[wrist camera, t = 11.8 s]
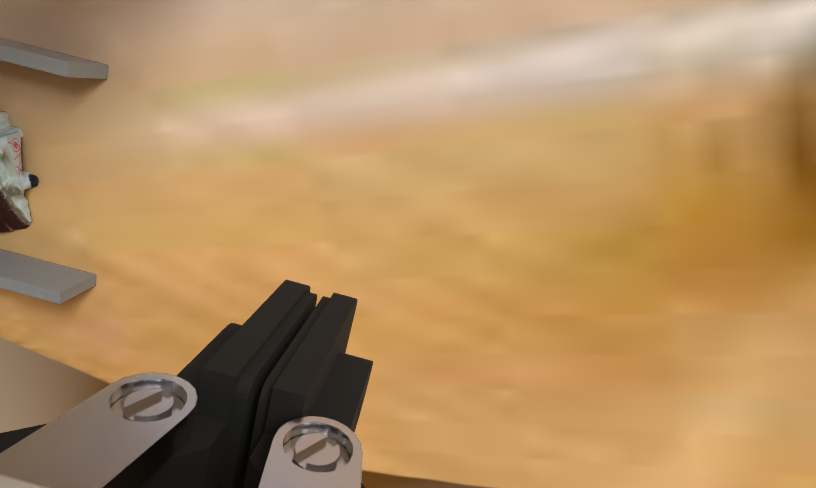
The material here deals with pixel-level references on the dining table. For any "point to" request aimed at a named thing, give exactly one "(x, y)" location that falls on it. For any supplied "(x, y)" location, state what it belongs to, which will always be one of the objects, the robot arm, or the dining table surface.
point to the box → (25, 270)
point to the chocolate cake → (13, 179)
